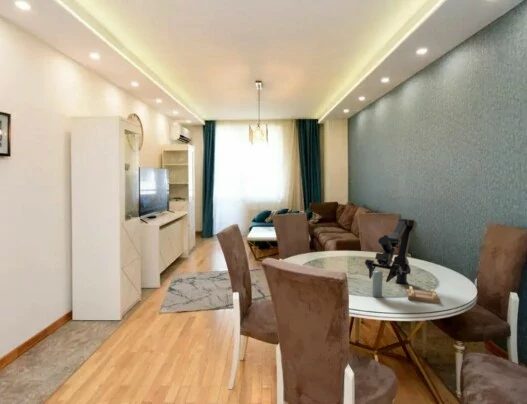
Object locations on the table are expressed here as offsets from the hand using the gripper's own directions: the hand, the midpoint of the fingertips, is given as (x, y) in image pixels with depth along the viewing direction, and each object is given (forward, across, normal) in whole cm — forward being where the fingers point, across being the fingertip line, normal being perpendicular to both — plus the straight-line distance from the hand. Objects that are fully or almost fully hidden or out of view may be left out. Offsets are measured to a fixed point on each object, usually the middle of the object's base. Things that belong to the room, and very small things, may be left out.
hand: (377, 280), depth 170 cm
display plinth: (-4, +18, +15) cm, 24 cm away
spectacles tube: (+6, 0, +6) cm, 8 cm away
